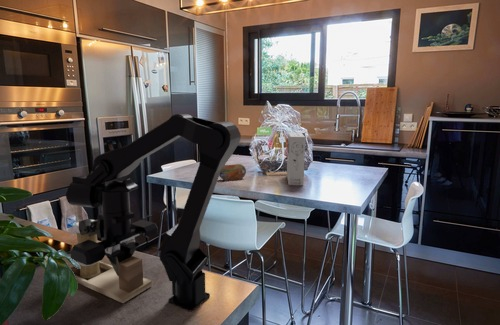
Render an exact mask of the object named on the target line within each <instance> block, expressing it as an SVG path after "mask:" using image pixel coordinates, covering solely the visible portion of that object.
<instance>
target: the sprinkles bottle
mask: <svg viewBox="0 0 500 325" xmlns="http://www.w3.org/2000/svg"><path fill="white" fill-rule="evenodd" d="M90 220H91V222H92V221H95V220H96V219H90ZM74 227H75V229H74V230H75V232H76V233H75V234H76V240H77V243H76V244H79V243H81V242H84V241H87V240H91V241H94V242H97V243H98V242H99V241H98V237H97V234H96V235H93V236H91V237H89V236H88V234H86V235H81V234H80V231H79V221H77V222H76V223H75V225H74ZM79 264H80V266H81V269H80V274H79V277H80V278H83V279H92V278H94V277H96V276H98V275H100V274H101V268H100V267H99V261H98V262H96V263H94V264H91V265H85V264H83V263H80V262H79Z"/></svg>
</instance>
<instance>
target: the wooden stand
mask: <svg viewBox="0 0 500 325" xmlns="http://www.w3.org/2000/svg"><path fill="white" fill-rule="evenodd" d="M76 262H78V261H76ZM78 263H79V262H78ZM67 265H68V266H69V267H70V268H71V269H72V271H73V272H74V274H75V276H76V278H77V281H78V283H77V284H80V285H82V286H84V287H86V288H88V289H89V290H90V289H91V290H92V291H95V292H97V293H100V294H102V295H104V296H106V297H108V298H110V299H113V300H115V301H117V302H119V303H121V304H125V303H126V302H128V301H129V300H131V299H132V298H134V297H136V296H138V295H139V294H141V293H143V292H145V291H146V290H147V289H149V288H151V287H153V281H152V280H150V279H148V278H146V277H144V272H143V268H144V267H143V259H142V258H141V257H140V258H139V257H137V256H133V255H132V257H130V258H128V259H126V260H124V261H122V262H120V263H118V274H119V276H117V274H116V272H115V270H114V268H113V266H112V264H109V263H106V262H103V261H102V260H100V261H99V268H102V269H104V270H106V271H104V272H102V273H99V274H98V275H97V276H95V277H93V278H89V279H88V280H87V279H86V278H82V277H80V276H78V275H80V269H77V268H75V267H74V266H72V265H71V264H70V263H68V264H67Z"/></svg>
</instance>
